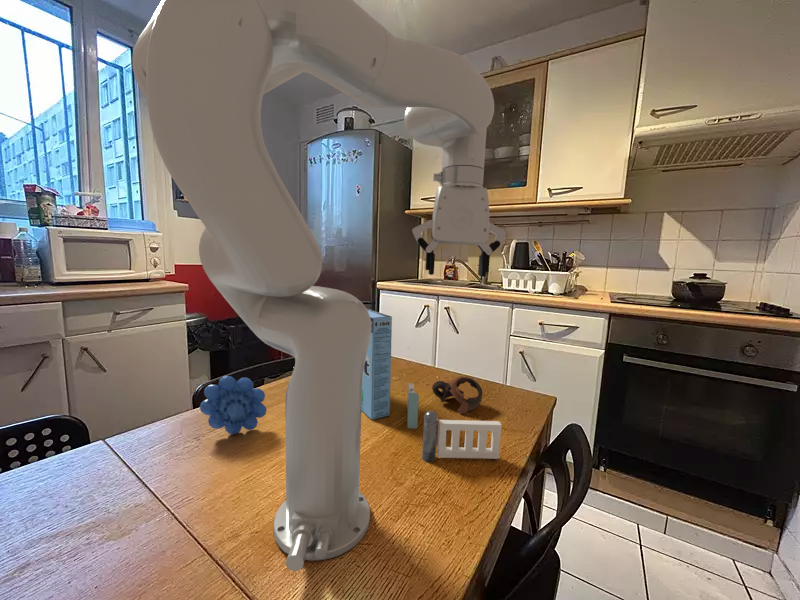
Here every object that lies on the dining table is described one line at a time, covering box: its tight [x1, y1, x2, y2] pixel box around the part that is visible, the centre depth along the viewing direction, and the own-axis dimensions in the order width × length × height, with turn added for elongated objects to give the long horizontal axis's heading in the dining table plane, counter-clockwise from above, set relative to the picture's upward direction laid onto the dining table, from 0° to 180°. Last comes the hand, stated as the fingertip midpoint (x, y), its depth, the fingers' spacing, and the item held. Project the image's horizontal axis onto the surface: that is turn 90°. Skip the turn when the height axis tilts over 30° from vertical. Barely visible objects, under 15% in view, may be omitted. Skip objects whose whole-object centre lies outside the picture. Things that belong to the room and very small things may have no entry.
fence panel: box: [406, 382, 416, 410], centre depth 77 cm, size 8×1×6 cm, turn 2°
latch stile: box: [406, 392, 419, 429], centre depth 72 cm, size 2×2×7 cm
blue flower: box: [199, 375, 268, 435], centre depth 66 cm, size 12×7×12 cm, turn 119°
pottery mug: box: [431, 375, 483, 415], centre depth 83 cm, size 12×10×8 cm
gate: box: [436, 419, 503, 461], centre depth 61 cm, size 11×1×7 cm, turn 92°
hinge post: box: [421, 410, 439, 463], centre depth 61 cm, size 3×3×9 cm
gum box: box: [361, 307, 393, 421], centre depth 82 cm, size 20×5×23 cm, turn 31°
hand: (456, 275), depth 64 cm, fingers open, 9 cm apart
